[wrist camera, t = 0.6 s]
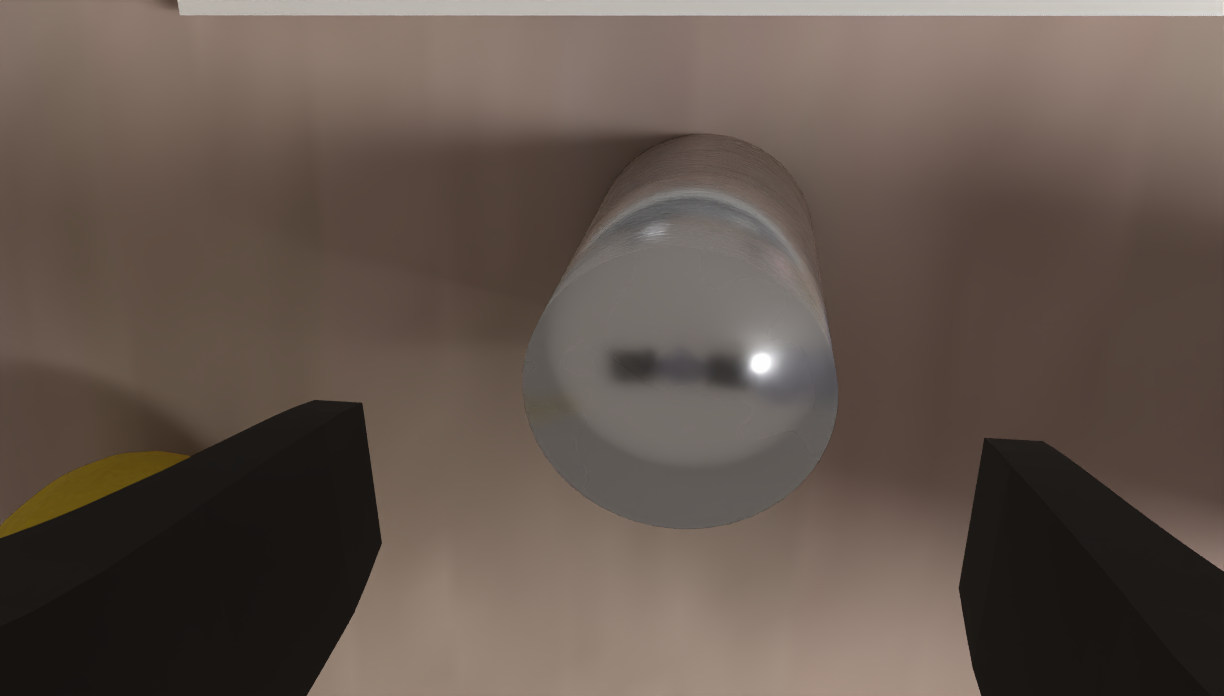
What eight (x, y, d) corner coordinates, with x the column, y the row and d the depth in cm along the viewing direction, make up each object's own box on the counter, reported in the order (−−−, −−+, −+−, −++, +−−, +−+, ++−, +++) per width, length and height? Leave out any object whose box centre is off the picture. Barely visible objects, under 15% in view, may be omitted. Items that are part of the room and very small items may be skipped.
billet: (820, 136, 18) (853, 253, 12) (804, 343, 20) (824, 538, 14) (595, 131, 19) (514, 241, 13) (599, 334, 21) (529, 518, 14)
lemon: (74, 431, 24) (-220, 655, 17) (251, 364, 22) (9, 579, 15) (193, 599, 26) (-27, 867, 19) (364, 549, 24) (196, 819, 17)
